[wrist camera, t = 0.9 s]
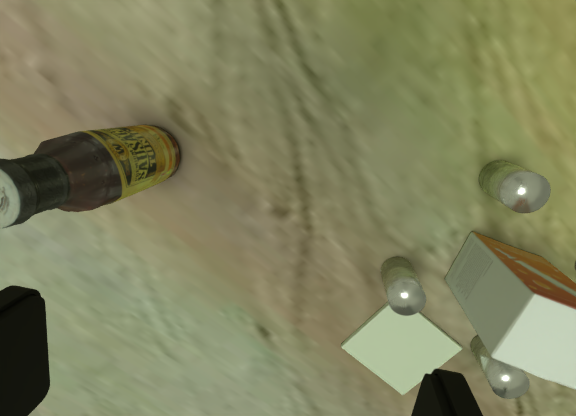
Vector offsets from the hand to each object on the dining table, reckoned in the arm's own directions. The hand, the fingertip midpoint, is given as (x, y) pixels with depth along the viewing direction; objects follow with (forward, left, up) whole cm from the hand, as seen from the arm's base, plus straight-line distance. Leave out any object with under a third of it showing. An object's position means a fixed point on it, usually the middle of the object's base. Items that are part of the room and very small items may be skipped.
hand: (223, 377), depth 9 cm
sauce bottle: (+10, -13, -31) cm, 35 cm away
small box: (-4, +23, -31) cm, 39 cm away
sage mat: (+10, +23, -31) cm, 40 cm away
